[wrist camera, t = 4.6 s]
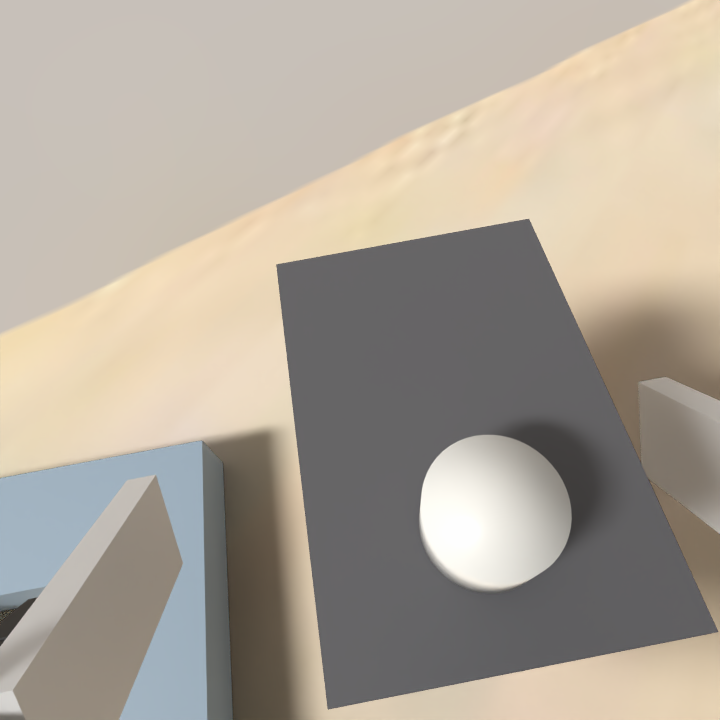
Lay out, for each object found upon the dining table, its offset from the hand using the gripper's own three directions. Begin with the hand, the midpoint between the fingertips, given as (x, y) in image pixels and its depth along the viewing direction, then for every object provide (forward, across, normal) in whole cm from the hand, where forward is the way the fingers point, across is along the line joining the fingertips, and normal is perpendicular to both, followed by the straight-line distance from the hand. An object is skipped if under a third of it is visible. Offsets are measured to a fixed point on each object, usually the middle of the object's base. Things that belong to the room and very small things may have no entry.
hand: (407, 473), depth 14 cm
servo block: (+3, 0, -5) cm, 6 cm away
